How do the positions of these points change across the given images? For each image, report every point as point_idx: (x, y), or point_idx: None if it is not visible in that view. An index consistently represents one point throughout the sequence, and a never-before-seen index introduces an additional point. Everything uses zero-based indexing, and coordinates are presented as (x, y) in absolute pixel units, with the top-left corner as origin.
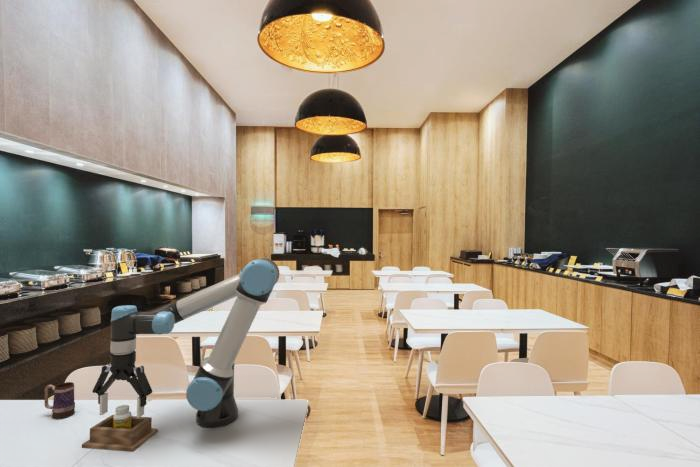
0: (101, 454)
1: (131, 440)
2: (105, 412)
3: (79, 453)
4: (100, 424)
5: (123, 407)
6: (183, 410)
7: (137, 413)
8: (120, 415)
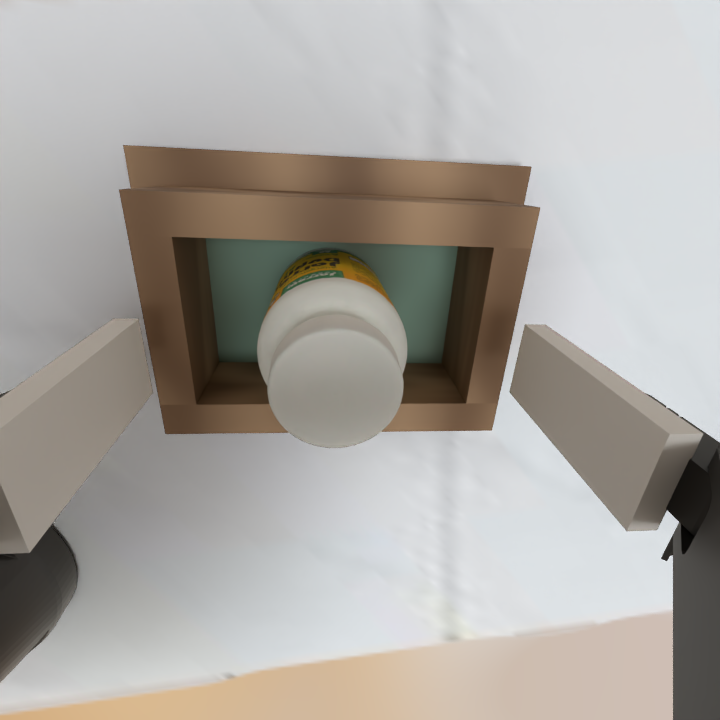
0: (329, 86)
1: (155, 187)
2: (516, 371)
3: (491, 87)
4: (492, 285)
5: (321, 390)
6: (214, 593)
7: (112, 335)
8: (314, 314)
